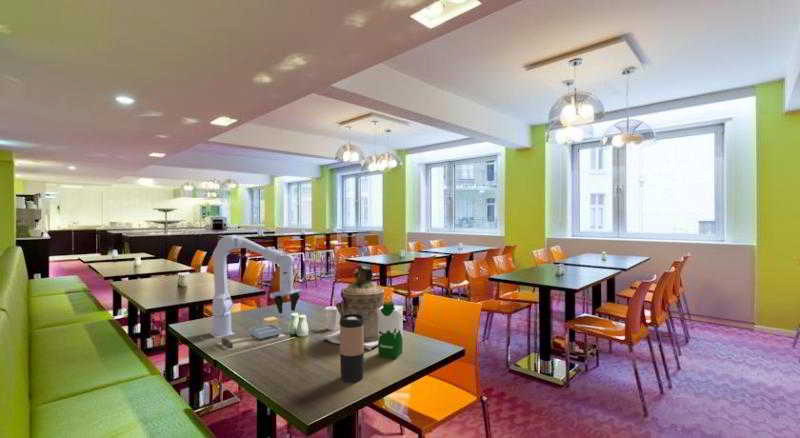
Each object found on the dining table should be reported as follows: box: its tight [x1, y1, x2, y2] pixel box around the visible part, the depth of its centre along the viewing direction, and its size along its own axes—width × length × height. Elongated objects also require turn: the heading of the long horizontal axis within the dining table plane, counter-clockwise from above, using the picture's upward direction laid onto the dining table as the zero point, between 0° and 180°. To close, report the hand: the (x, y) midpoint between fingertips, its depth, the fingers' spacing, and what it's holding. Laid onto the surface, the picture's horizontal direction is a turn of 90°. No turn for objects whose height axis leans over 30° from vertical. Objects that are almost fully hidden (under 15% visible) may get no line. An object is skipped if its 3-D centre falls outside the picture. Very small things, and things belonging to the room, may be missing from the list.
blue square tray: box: [248, 324, 283, 341], centre depth 169 cm, size 10×10×3 cm
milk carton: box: [377, 301, 404, 360], centre depth 148 cm, size 9×9×20 cm
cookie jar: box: [322, 264, 386, 351], centre depth 168 cm, size 25×25×32 cm
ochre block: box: [262, 316, 279, 327], centre depth 181 cm, size 5×5×5 cm
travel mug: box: [339, 314, 365, 384], centre depth 127 cm, size 8×8×20 cm
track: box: [216, 333, 288, 352], centre depth 165 cm, size 13×25×2 cm, turn 133°
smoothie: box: [324, 298, 339, 331], centre depth 181 cm, size 6×6×14 cm
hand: (286, 311), depth 175 cm, fingers open, 5 cm apart
